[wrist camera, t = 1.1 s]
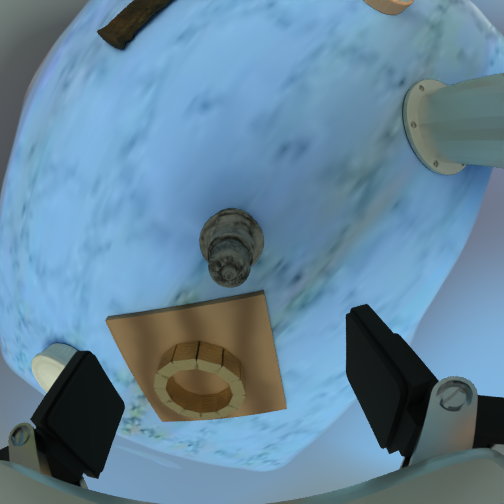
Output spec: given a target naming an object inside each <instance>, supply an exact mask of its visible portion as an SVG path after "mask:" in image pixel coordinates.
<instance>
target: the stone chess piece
mask: <svg viewBox="0 0 504 504" xmlns="http://www.w3.org/2000/svg"><path fill="white" fill-rule="evenodd" d="M199 241H200V249H201V252H202V255H203V256H204V258H205V259H206V261H207V262H208V263H209V265H208V267H209V273H210V275H211V277H212V279H213V280H214V281H215V282H216V283H217V284H219V285H221V286H223V287H227V288H233V287H237V286H239V285H241V284H243V283H244V282H245V281H246V279H247V277H248V276H249V273H250V267H251V266H252V265H253V264H254V263H255V262H256V261H257V260H258V259H259V257H260V255H261V253H262V250H263V246H264V237H263V234H262V230H261V228H260V226H259V225H258V223H257V222H256V221H255V220H254V219H253V218H252V217H251V216H250V215H249V214H248V213H247V212H245V211H243V210H240V209H236V208H229V209H225V210H222V211H220V212H218V213H217V214H215V215H214V216H212V217H211V218H210V219H209V220H208V221H207V222H206V223H205V225H204V227H203V229H202V231H201V234H200V239H199Z"/></svg>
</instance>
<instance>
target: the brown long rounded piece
mask: <svg viewBox="0 0 504 504" xmlns="http://www.w3.org/2000/svg"><path fill="white" fill-rule="evenodd" d="M170 1H171V0H134V1H132V2H131V3H130V4H129V5H128V6H127V7H126V8H124V9H123V10H122V11H121V12H120V13H119V14H118V15H117V16H116V17H115V18H114V19H113V20H112V21H111V22H110V23H109V24H108V25H107V26H105V27H104V28H102V29H100V30H98V31H97V33H98V34H99V35H100V36H101V37H102V38H103V40H105V41H106V42H107V43H109V44H110V45H112V46H114V47H115V48H119V49H124V47H125V43H126V42H127V41H130V40H132V39H133V35H134V33H135V32H136V31H137V30H138V29H139V28H140V27H141V26H143V25H144V24H145V23H146V22H147V21H148V20H149V19H150V18H151V17H152V16H153V15H154V14H155V13H156V12H158V11H159V10H160V9H162V8H164V7H165V5H166V4H167V3H169V2H170Z"/></svg>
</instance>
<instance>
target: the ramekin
mask: <svg viewBox="0 0 504 504" xmlns="http://www.w3.org/2000/svg"><path fill="white" fill-rule="evenodd" d="M76 352H77V350H76V349H74V348H73V347H71V346H68V345H65V344H60V343H56V344H52V345H50V346H49V347H48V348H46V349H45V350H44V351H42V352H41V353H39V354H37V355H36V356H35V357H34V358H33V360H32V363H31V366H32V371H33V374H34V376H35V378H36V380H37V381H38V383H39V384H40V385H41V387H42V388H43V389H44V390H45V391H46V392H48V391H49V389H50V388H51V386H52V385H53V383H54V382H55V380H56V379H57V378H58V376H59V375H60V373H61V372H62V370H63V369H64V368H65V366H66V365H67V363H68V362H69V361H70V359H71V358H72V356H73V355H74V354H75V353H76Z"/></svg>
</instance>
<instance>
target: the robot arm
mask: <svg viewBox="0 0 504 504" xmlns="http://www.w3.org/2000/svg"><path fill="white" fill-rule="evenodd" d="M403 119H404V125H405V130H406V133H407V137H408V139H409V142H410V144H411V146H412V148H413V150H414V152H415V153H416V155H417V157H418V158H419V159H420V160H421V162H422V163H423V164H424V165H425V166H426V167H428V168H429V169H430V170H432V171H434V172H436V173H439V174H443V175H454V174H456V173H459V172H460V171H461V170H463V169H464V168H465V166H466V165H467V164H469V165H480V166H489V167H497V168H504V73H500V74H495V75H490V76H485V77H481V78H476V79H472V80H468V81H464V82H460V83H456V84H453V85H449V86H447V85H445V84H444V83H442V82H440V81H437V80H433V79H426V80H422V81H420V82H417V83H415V84H414V85H413V86H412V87H411V88H410V89H409V91H408V92H407V94H406V97H405V100H404V107H403ZM346 374H347V378H348V380H349V382H350V385H351V387H352V389H353V391H354V393H355V395H356V397H357V399H358V401H359V403H360V405H361V407H362V409H363V411H364V413H365V415H366V418H367V420H368V421H369V424H370V426H371V428H372V430H373V432H374V434H375V436H376V439H377V441H378V443H379V445H380V447H381V448H383V449H384V448H387V450H388V452H389V454H391V453H393V452H396V451H398V450H399V452H400V454H401V456H404V459H403V461H402V464H401V466H400V469H399V470H397V471H394V472H391V473H388V474H386V475H383V476H380V477H377V478H374V479H371V480H368V481H365V482H362V483H360V484H356V485H353V486H350V487H346V488H343V489H339V490H336V491H332V492H328V493H324V494H319V495H314V496H310V497H305V498H300V499H295V500H290V501H283V502H276V503H269V504H504V398H502V397H491V396H481V395H478V394H477V389H476V388H475V386H474V384H473V383H472V382H471V381H469V380H467V379H465V378H463V377H457V376H455V377H454V376H452V377H447V378H444V379H442V380H441V381H438V380H437V378H436V377H435V376H434V375H433V373H432V372H431V371H430V370H429V369H428V367H427V366H426V365H425V364H424V363H423V361H422V360H421V359H420V358H419V357H418V356H417V354H416V353H415V352H414V351H413V350H412V349H411V347H410V346H409V345H408V344H407V343H406V342H405V341H404V339H403V338H402V337H401V336H400V335H399V334H397V333H393V332H392V331H391V330H390V329H389V328H388V326H387V325H386V324H385V323H384V322H383V321H382V320H381V318H380V317H379V316H378V315H377V314H376V313H375V312H374V311H373V309H372V308H371V307H370V306H369V305H368V304H364V305H361V306H357V307H354V308H351V310H350V313H348V314H346ZM124 409H125V405H124V402H123V400H122V399H121V397H120V396H119V394H118V393H117V391H116V389H115V388H114V386H113V385H112V383H111V382H110V380H109V378H108V377H107V375H106V373H105V372H104V370H103V368H102V366H101V365H100V363H99V361H98V359H97V358H96V356H95V355H94V354H92V353H91V352H90V351H77V352H76V353H75V354H74V355H73V356H72V358H71V359H70V361H69V362H68V363H67V365H66V366H65V368H64V369H63V370H62V372H61V373H60V375H59V376H58V378H57V379H56V380H55V382H54V383H53V385H52V386H51V388H50V389H49V391H48V392H47V394H46V395H45V397H44V399H43V400H42V402H41V403H40V405H39V406H38V408H37V409H36V411H35V413H34V414H33V416H32V418H31V419H30V420H31V421H32V422H33V423H34V424H35V425H36V429H34V428H33V427H32V426H31V424H29V423H20V424H18V425H17V426H15V427H14V428H13V430H12V431H11V432H10V435H9V440H8V443H9V446H7V447H5V448H3V449H1V450H0V504H157V503H149V502H142V501H137V500H131V499H126V498H121V497H116V496H112V495H107V494H103V493H100V492H96V491H92V490H89V489H88V487H87V485H86V483H85V480H84V478H83V476H82V475H83V473H84V474H86V475H87V476H89V477H93V478H97V479H98V478H99V475H100V473H101V472H102V471H103V469H104V466H105V463H106V460H107V457H108V454H109V451H110V448H111V445H112V442H113V440H114V437H115V434H116V431H117V428H118V426H119V423H120V420H121V417H122V415H123V412H124Z"/></svg>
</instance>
